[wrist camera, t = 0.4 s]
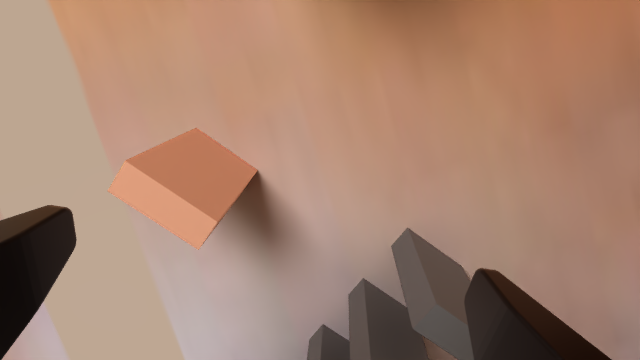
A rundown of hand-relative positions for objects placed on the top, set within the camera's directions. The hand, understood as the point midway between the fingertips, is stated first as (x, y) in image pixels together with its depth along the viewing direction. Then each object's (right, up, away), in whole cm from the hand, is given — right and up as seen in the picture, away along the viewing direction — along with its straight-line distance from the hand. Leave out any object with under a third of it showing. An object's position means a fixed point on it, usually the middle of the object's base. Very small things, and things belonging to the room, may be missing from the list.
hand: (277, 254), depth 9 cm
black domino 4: (+8, -3, +16) cm, 18 cm away
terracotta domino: (-5, +3, +15) cm, 16 cm away
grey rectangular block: (+5, -7, +18) cm, 19 cm away
